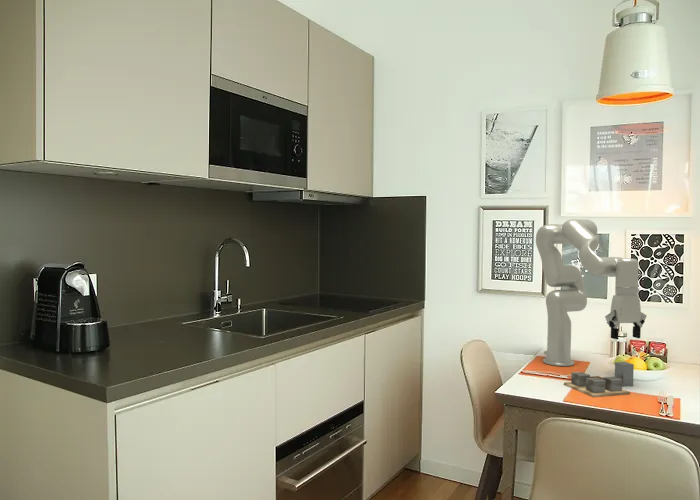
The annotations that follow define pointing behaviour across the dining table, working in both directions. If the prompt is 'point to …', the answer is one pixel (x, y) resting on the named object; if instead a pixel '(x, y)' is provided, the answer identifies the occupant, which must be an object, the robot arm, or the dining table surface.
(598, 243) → the robot arm
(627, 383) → the dark gray rectangular block
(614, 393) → the board
